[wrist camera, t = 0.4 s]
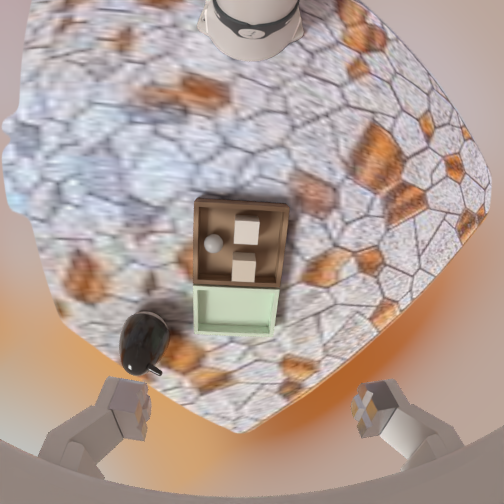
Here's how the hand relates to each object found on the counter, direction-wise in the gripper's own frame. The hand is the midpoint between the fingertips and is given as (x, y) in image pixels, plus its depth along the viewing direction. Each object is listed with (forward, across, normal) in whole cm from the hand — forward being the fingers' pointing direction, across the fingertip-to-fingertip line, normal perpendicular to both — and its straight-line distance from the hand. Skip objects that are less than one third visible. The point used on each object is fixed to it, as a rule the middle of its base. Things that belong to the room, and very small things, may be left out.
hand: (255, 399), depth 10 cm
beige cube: (+44, -2, +12) cm, 45 cm away
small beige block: (+44, -2, +6) cm, 44 cm away
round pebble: (+44, +4, +8) cm, 45 cm away
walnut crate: (+44, -1, +8) cm, 45 cm away
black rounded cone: (+45, +17, +28) cm, 56 cm away
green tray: (+44, -1, +22) cm, 50 cm away
